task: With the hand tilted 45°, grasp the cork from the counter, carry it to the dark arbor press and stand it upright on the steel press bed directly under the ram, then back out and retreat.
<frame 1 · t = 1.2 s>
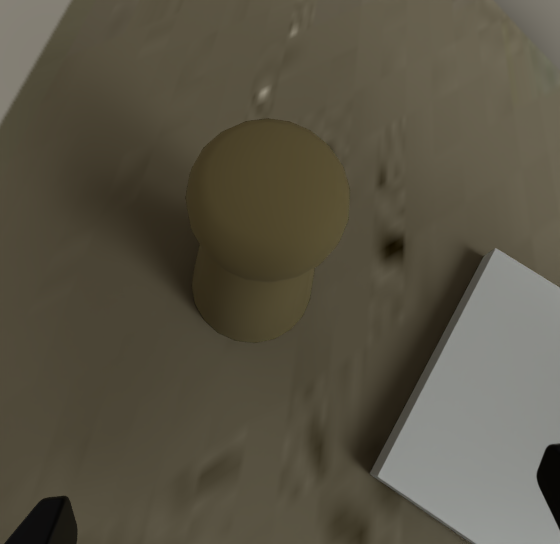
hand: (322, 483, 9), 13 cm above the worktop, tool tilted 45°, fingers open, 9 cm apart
arbor press: (545, 429, 23), on the worktop
cork: (252, 284, 24), on the worktop
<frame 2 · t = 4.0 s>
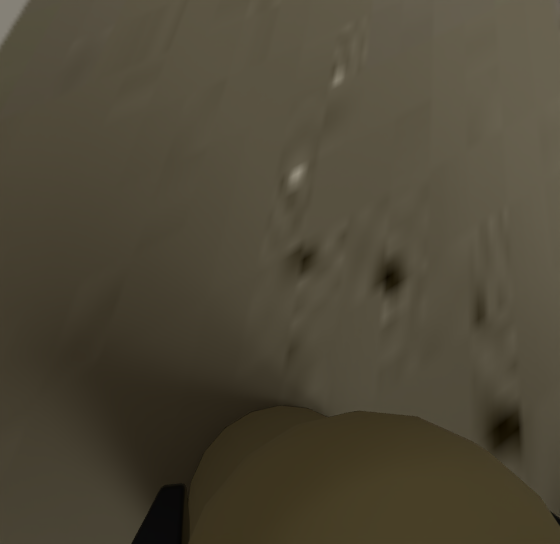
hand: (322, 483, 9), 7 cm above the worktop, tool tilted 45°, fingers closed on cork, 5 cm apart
cork: (285, 505, 15), on the worktop, touching gripper
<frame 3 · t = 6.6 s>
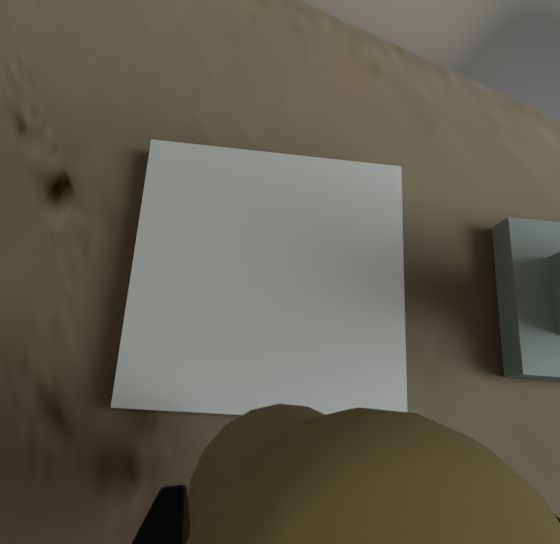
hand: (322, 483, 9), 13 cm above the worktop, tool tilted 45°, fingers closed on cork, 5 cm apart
arbor press: (269, 280, 24), on the worktop
cork: (284, 503, 15), point 7 cm above the worktop, touching gripper
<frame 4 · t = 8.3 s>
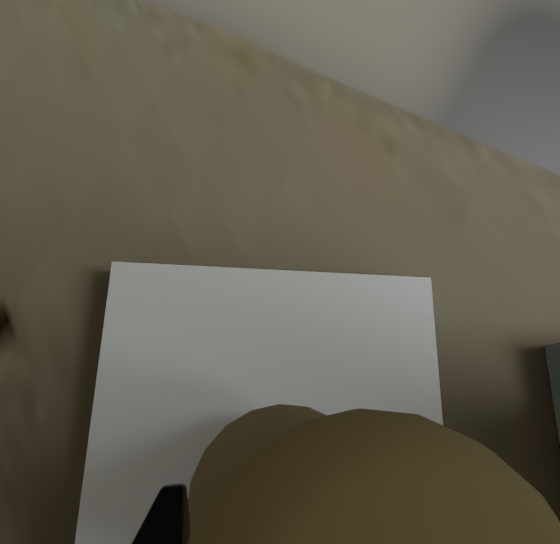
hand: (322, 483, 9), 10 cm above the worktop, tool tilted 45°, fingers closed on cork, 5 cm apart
arbor press: (270, 438, 18), on the worktop
cork: (284, 504, 15), point 3 cm above the worktop, touching gripper
when the fingers open (9 cm above the worktop, at t = 9.5 s): cork drops 1 cm, resting on arbor press.
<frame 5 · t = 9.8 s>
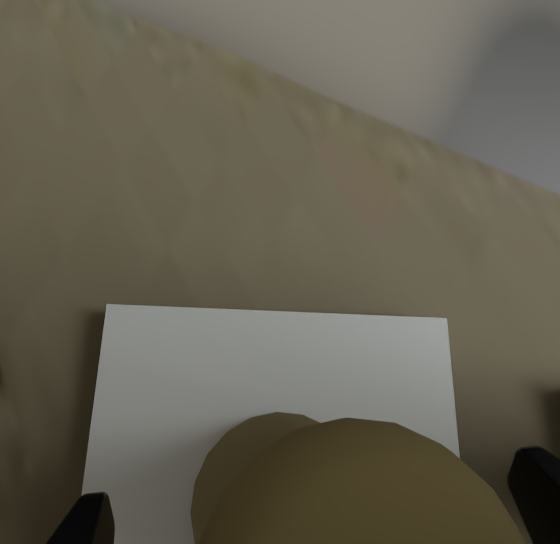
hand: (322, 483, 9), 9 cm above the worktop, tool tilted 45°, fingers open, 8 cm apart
arbor press: (276, 494, 17), on the worktop
cork: (281, 504, 16), point 1 cm above the worktop, touching arbor press
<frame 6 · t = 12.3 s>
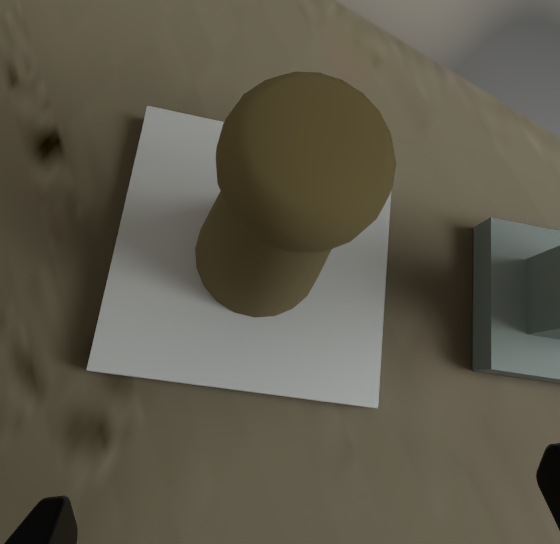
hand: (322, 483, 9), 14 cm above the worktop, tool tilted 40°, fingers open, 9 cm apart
arbor press: (255, 258, 24), on the worktop
cork: (258, 256, 23), point 1 cm above the worktop, touching arbor press
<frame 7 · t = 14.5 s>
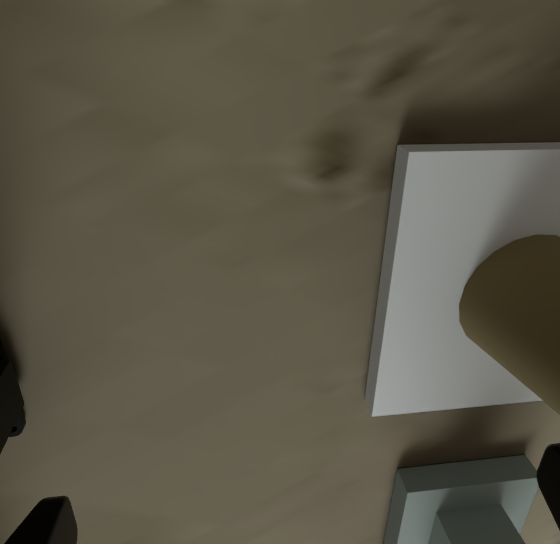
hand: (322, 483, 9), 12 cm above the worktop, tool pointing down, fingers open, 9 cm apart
arbor press: (511, 282, 22), on the worktop
cork: (520, 294, 21), point 1 cm above the worktop, touching arbor press
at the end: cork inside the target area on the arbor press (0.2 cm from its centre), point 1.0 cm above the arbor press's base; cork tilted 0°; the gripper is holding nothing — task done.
